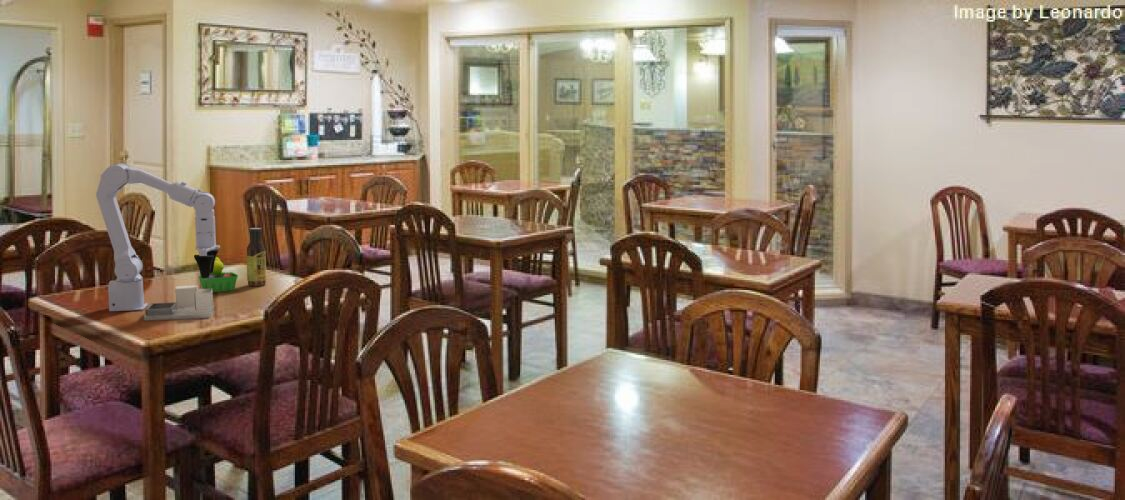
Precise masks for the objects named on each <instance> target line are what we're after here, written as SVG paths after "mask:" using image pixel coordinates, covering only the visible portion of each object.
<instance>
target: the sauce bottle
mask: <svg viewBox="0 0 1125 500" xmlns="http://www.w3.org/2000/svg"><path fill="white" fill-rule="evenodd" d="M248 231H249V241H250V242H249V243H248V244H247V247H246V277H247V278H246V281H247V285H248V286H249V287H262V286H265V285H266V284H267V260H266V259H267V257H266V255H267V254H266V252H267V251H266V249H265V246H264V244H263V241H262V231H263V230H262V228H261V227H250V228H249V229H248Z"/></svg>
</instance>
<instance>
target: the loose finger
mask: <svg viewBox="0 0 1125 500" xmlns="http://www.w3.org/2000/svg"><path fill="white" fill-rule="evenodd" d="M174 289H175V290H174V293H175V294H174V295H175V302H177V306H178V308H185V307H195V296H194V294H195V292H196V291H197V290H198V289H199V285H177V286H176V287H175V288H174Z"/></svg>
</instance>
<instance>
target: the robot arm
mask: <svg viewBox="0 0 1125 500" xmlns="http://www.w3.org/2000/svg"><path fill="white" fill-rule="evenodd" d="M127 184H129V185H131V184H132V185H133V184H142V185H146V186H148V187H151V188H153V189H156V190H159V191H161V192H163V193H167V195H168V196H169V199H171V200H173V201H175V202H178V203H180V204H182V205H185V206H187V207H190V208H193V209H194V212H195V213H194V214H195V217H194V226H195V250H197V251H198V254H194V256H193V258H194V260H195V262H196V264H197V266H198V270H199V273H200V275H201V277H202V278H209V276H210V273H213V269H214V263H215V258H216V257H217V255H218V253H219V249H220V248H221V245H219V244H217V241H216V239H217V238H216V236H217V235H216V216H215V208H214V207H215V205H216V200H215V197H214V195H212V194H211V193H210V192H208V191H203V189H201V188H198V189H197V188H194V187H193V186H189V185H187V182H186V181H175V182H170V181H167V180H166V179H163V178H161V177H159V176H157V175H155V174H152V173H150V172H148V171H146V170H143V169H141V168H138V167H136V166H132V165H128V164H127V163H123V162H122V163H121V162H119V163H116V164H113V165H109V166H108V167H107V168H106V169H105V170H104V171H103V172H102V174H100V180H99V184H98V187H97V191H96V192H95V195H96V196H95V197H96V199H97V203H98V205H99V206H98V207H99V209H100V212H101V215H102V218H103V221H104V224H105V228H106V231H107V233H108V237H109V239H110V243H111V247H112V249H113V261H114V265H115V266H114V275H115V276H116V278H115V280H110V281H109V282H108V286H107V287H108V289H107V290H108V291H107V292H108V293H107V294H108V305H109V306H108V311H109V312H123V311H124V312H125V311H130V312H131V311H143V310H144V309H145V308H146V307H147V306H149V304H148V302H145V296H144V284H143V283H144V282H143V281H144V280H143V276H142V275H141V274H140V273H142V271H143V268H144V267H143V266H144V265H143V264H144V263H143V261H142V260H141V258H140V257H139V256H138V255H137V253H136V251H135V249H134V248H133V246H132V244H131V241H130V238H129V235H128V231H127V228H126V225H125V222H124V219H123V216H122V213H121V212H122V211H121V209H120V206H119V203H118V199H117V196H118V194H119V193H120V191H121V190H122V188H123V187H125V186H126V185H127Z"/></svg>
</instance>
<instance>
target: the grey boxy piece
mask: <svg viewBox="0 0 1125 500" xmlns="http://www.w3.org/2000/svg"><path fill="white" fill-rule="evenodd" d="M213 293H214V292H213V289H203V288H198V290H197V291H196V292H195V294H194V296H195V307H178V306H177V302H176V301H175V302H153V303H150V304H149V305H148V307H147V308H146V309H145V310H144V312H145V315H143V321H162V320H163V321H164V320H188V319H189V320H190V319H195V320H196V319H210V318H211V317H212V316H213V314H214V312H215V311H216V310H215V306H214V294H213Z"/></svg>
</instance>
